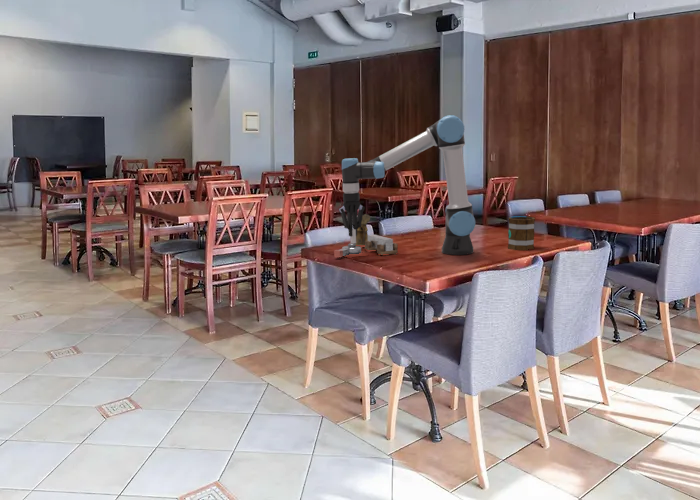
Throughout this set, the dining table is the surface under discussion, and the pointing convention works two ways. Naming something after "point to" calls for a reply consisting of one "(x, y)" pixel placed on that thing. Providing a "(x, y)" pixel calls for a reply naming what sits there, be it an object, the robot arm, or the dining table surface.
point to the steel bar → (381, 242)
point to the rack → (381, 248)
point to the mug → (521, 233)
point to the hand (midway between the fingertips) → (353, 243)
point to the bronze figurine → (362, 231)
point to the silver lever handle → (347, 250)
